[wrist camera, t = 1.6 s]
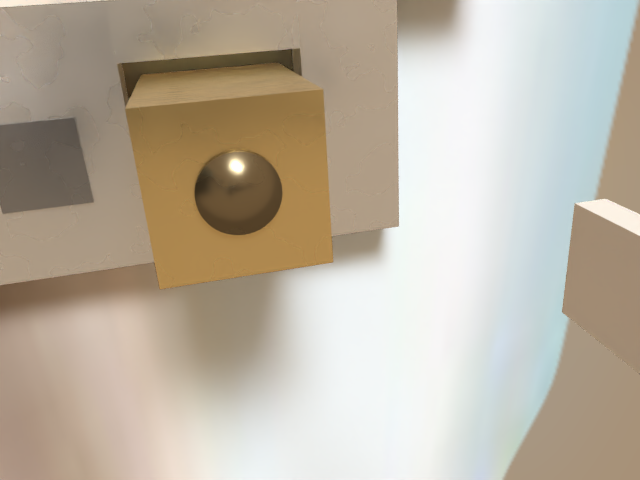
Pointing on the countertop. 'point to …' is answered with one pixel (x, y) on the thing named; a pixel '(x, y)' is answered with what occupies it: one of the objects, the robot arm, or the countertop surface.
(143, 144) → the cube with dome knob
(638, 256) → the robot arm
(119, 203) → the beige panel with cutout
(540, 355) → the countertop surface
